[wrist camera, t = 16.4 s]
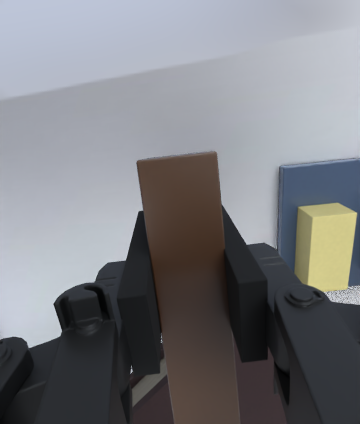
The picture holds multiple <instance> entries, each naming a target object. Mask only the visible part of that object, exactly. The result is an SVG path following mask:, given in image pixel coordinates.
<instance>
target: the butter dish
mask: <svg viewBox="0 0 360 424" xmlns="http://www.w3.org/2000/svg"><path fill="white" fill-rule="evenodd" d="M330 203H339V204H341V205H343V206H345V207H347V208H349V209H351V210H353V211H355V212H356V213H357V218H356V226H355V234H354V242H353V249H352V257H351V265H350V273H349V281H348V286H357V285H360V158H353V159H344V160H334V161H324V162H314V163H304V164H294V165H284V166H280V182H279V217H278V253H279V254H280V256H281V257H282V258H283V260H284V261H285V262H286V264H287V265H288V266H289V267H290V268H291V270H292V271H293V272H294V270H295V251H296V232H297V213H298V207H301V206H311V205H321V204H330Z"/></svg>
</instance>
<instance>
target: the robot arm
mask: <svg viewBox="0 0 360 424" xmlns="http://www.w3.org/2000/svg"><path fill="white" fill-rule="evenodd" d="M222 216H223V227H224V239H225V249H224V256H225V268H226V279H227V290H228V302H229V313H230V325H231V329H232V332H233V336H234V339H235V342H236V345H237V349H238V352H239V355H240V359H241V362H242V363H247V362H254V361H262V360H268V347H269V349H270V352H271V354H272V356H273V358H274V395H278V391H279V395H280V398H281V402H282V406H283V409H284V413H285V417H286V420H287V424H360V305H355V304H344V303H337V302H331V301H330V299H329V298H328V297H327V296H326V295H325V294H324V293H323V292H322V291H321V290H319V289H317V288H315V287H313V286H309V285H306V284H303V283H302V282H301V281H300V280H299V278H298V277H297V276H296V275H295V273H294V272H293V271H292V270H291V268H290V267H289V266H288V265H287V264H286V262H285V261H284V260H283V258H282V257H281V256H280V254H279V253H278V252H277V251H276V249H275V248H273V247H271V246H269V245H267V244H266V243H258V244H250V245H246V243H245V241H244V240H243V238H242V237H241V235H240V233H239V232H238V230H237V228H236V227H235V225H234V223H233V222H232V220H231V218H230V217H229V215H228V214H227V212H226V210H225V209H224V207H223V205H222ZM54 307H55V310H56V313H57V316H58V319H59V322H60V325H61V329H62V333H61V336H60V337H58V338H56V339H53V340H51V341H49V342H46V343H43V344H40V345H37V346H35V347H32V348H29V347H28V345H27V342H26V341H25V340H23V339H22V338H18V337H10V338H4V339H1V340H0V424H133V404H132V389H131V385H130V381H129V378H130V371H131V365H132V370H133V374H134V377H136V376H144V375H152V374H160V360H161V329H160V322H159V315H158V308H157V301H156V294H155V287H154V281H153V274H152V267H151V260H150V253H149V246H148V239H147V232H146V226H145V219H144V212H143V211H139V212H138V216H137V220H136V224H135V228H134V232H133V236H132V240H131V243H130V247H129V251H128V255H127V259H126V261H119V262H111V263H107V264H106V265H105V266H104V267H103V268H102V269H101V270H99V272H98V275H97V277H96V281H95V282H94V283H85V284H81V285H78V286H75V287H73V288H71V289H69V290H67V291H65V292H64V293H63V294H61V295H60V296H59V297H58V298H57V299H56V301H55V302H54Z"/></svg>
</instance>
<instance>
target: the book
mask: <svg viewBox="0 0 360 424" xmlns="http://www.w3.org/2000/svg"><path fill="white" fill-rule="evenodd" d="M233 343H234V355H235V366H236V378H237V390H238V401H239V413H240V424H287V420H286V417H285V413H284V409H283V406H282V402H281V398H280V395H279V391H278V395H274V358H273V356H272V354H271V352H270V349H269V347H268V360H262V361H254V362H247V363H242V362H241V359H240V355H239V352H238V349H237V345H236V342H235V339H234V336H233ZM129 381H130V385H131V389H132V404H133V424H174V418H173V411H172V404H171V397H170V391H169V384H168V377H167V370H166V363H165V356H164V349H163V342H162V343H161V360H160V374H152V375H144V376H136V377H134V374H133V372H132V373H131V374H130V378H129Z"/></svg>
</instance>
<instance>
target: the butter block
mask: <svg viewBox="0 0 360 424" xmlns="http://www.w3.org/2000/svg"><path fill="white" fill-rule="evenodd" d="M356 218H357V213H356V212H355V211H353V210H351V209H349V208H347V207H345V206H343V205H341V204H339V203H330V204H321V205H311V206H301V207H298V213H297V232H296V251H295V270H294V273H295V275H296V276H297V277H298V278H299V280H300V281H301V282H302V283H303V284H306V285H309V286H313V287H315V288H317V289H319V290H321V291H322V292H327V291H337V290H346V289H347V288H348V281H349V273H350V265H351V257H352V249H353V242H354V234H355V226H356Z"/></svg>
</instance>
